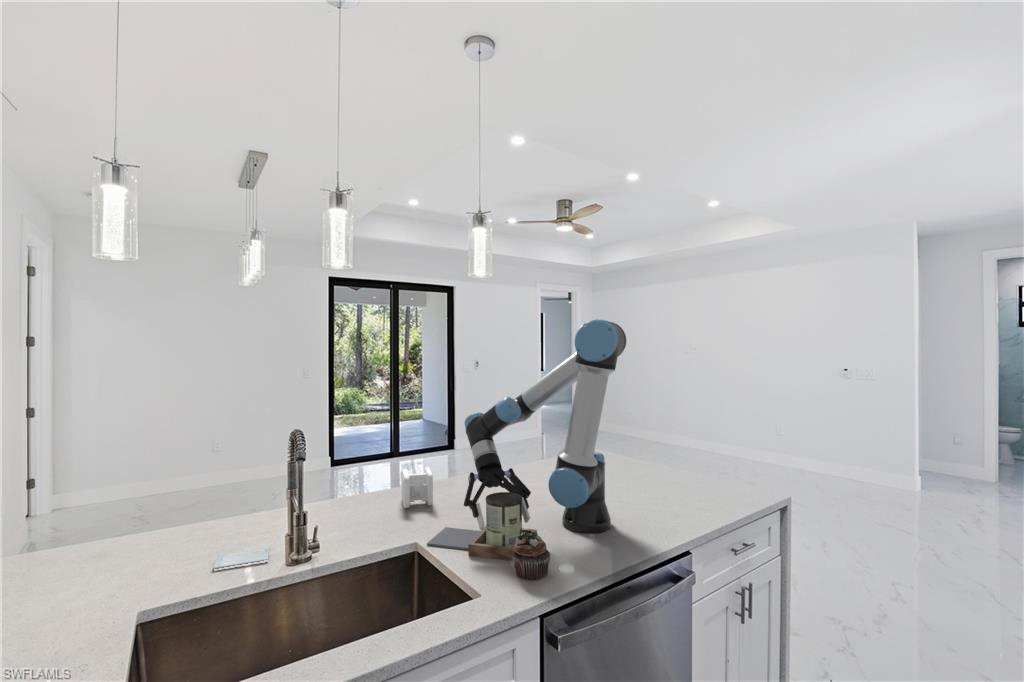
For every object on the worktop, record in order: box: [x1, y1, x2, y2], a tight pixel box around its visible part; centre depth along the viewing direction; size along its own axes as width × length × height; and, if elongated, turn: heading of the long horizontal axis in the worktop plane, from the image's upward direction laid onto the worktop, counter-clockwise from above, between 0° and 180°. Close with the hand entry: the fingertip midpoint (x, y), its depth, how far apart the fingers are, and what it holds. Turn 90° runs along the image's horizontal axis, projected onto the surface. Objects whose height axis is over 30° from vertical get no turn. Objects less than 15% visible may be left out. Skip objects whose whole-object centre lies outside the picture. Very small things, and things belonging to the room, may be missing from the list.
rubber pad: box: [426, 526, 481, 551], centre depth 142 cm, size 13×13×1 cm
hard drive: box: [212, 547, 271, 571], centre depth 127 cm, size 2×8×12 cm
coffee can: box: [485, 491, 523, 548], centre depth 136 cm, size 10×10×14 cm
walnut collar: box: [467, 525, 538, 562], centre depth 136 cm, size 15×15×3 cm
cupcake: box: [512, 530, 551, 581], centre depth 120 cm, size 10×10×10 cm
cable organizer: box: [400, 466, 434, 509], centre depth 175 cm, size 15×11×12 cm
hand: (505, 524), depth 134 cm, fingers open, 13 cm apart
